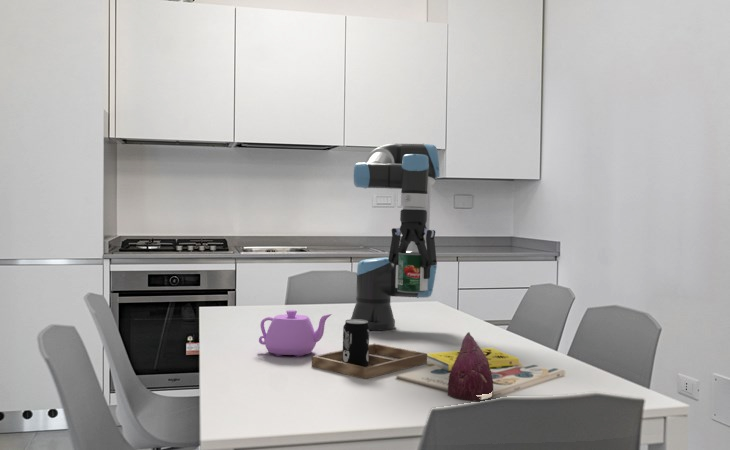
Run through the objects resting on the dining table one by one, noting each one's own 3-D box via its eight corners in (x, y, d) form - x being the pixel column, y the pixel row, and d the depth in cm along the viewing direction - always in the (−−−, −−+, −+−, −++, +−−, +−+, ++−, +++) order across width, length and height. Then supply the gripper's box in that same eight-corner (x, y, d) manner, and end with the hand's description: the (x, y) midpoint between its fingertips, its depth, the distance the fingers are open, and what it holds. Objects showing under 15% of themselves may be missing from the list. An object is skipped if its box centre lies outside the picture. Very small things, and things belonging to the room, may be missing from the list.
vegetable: (445, 403, 163) (435, 337, 166) (489, 397, 163) (479, 331, 167) (453, 404, 152) (443, 334, 155) (500, 398, 153) (489, 328, 156)
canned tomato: (409, 289, 209) (411, 251, 209) (430, 292, 203) (432, 253, 203) (391, 291, 203) (392, 252, 203) (412, 293, 198) (413, 254, 197)
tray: (311, 366, 181) (311, 356, 181) (374, 352, 200) (374, 343, 200) (365, 378, 170) (365, 368, 170) (426, 363, 189) (427, 353, 189)
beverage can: (365, 372, 177) (366, 323, 176) (339, 370, 178) (340, 322, 177) (370, 366, 183) (371, 319, 183) (345, 364, 184) (346, 318, 184)
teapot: (253, 357, 190) (254, 312, 190) (263, 347, 203) (264, 305, 203) (328, 360, 189) (329, 315, 188) (333, 349, 202) (334, 308, 202)
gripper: (377, 207, 207) (374, 286, 207) (436, 209, 193) (434, 293, 194) (392, 208, 212) (390, 285, 213) (451, 209, 199) (449, 291, 199)
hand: (411, 288), depth 203 cm, fingers closed on canned tomato, 8 cm apart
